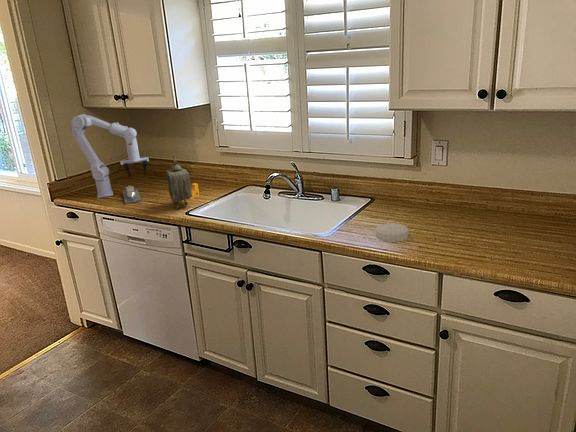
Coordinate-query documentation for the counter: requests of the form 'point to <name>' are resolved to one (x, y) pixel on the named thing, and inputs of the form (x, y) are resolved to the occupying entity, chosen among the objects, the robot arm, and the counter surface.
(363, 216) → the counter surface
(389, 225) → the mooncake
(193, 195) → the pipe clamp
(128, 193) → the ball knob lever
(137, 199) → the grey metal plate
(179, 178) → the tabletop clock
